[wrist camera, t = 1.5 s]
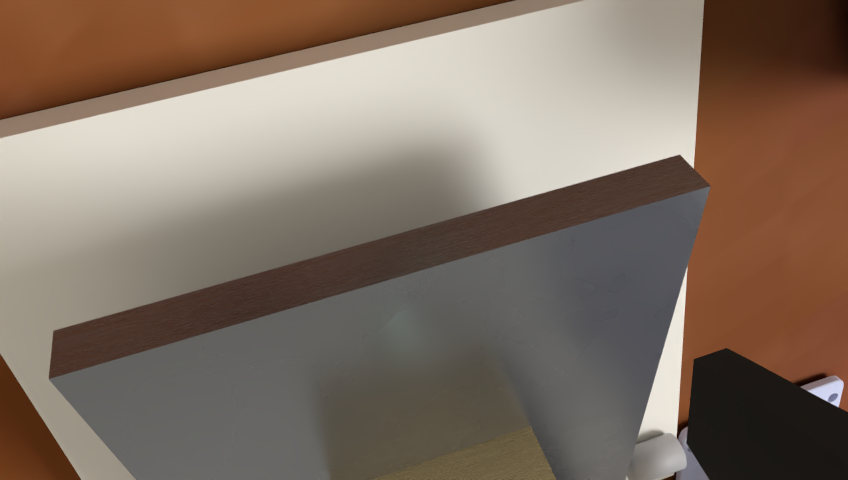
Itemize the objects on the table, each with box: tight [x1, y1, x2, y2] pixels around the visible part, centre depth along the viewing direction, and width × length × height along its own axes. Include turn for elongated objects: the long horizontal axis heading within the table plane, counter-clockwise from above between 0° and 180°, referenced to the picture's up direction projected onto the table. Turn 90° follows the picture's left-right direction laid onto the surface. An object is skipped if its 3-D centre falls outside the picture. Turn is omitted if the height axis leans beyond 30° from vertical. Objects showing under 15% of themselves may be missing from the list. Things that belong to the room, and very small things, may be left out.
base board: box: [0, 0, 704, 480], centre depth 21 cm, size 20×20×3 cm
